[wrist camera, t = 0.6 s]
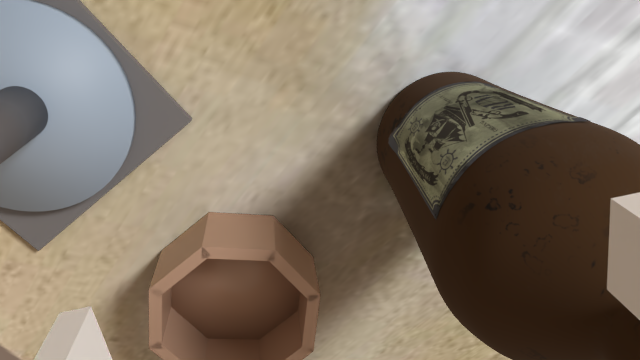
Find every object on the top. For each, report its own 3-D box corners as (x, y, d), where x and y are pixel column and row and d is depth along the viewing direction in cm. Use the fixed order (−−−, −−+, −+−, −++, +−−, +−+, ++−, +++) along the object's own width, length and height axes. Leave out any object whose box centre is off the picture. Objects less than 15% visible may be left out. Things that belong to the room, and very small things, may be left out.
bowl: (129, 276, 39) (112, 318, 34) (243, 184, 37) (241, 215, 33) (232, 364, 43) (228, 413, 38) (339, 284, 41) (349, 324, 37)
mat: (-146, 92, 33) (-153, 95, 32) (15, -67, 31) (11, -68, 30) (41, 246, 38) (38, 250, 37) (192, 118, 35) (191, 121, 35)
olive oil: (540, 156, 39) (950, 435, 16) (414, 234, 40) (623, 598, 17) (475, 28, 35) (889, 153, 12) (337, 119, 36) (474, 390, 13)
